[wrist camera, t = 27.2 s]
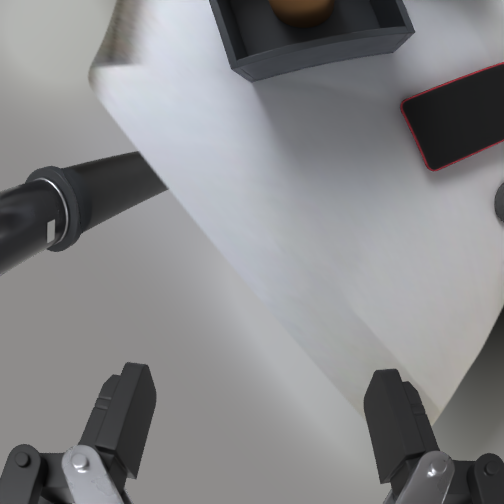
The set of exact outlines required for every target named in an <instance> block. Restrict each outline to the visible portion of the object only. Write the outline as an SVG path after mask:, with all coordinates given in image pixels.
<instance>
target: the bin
mask: <svg viewBox="0 0 504 504" xmlns="http://www.w3.org/2000/svg"><path fill="white" fill-rule="evenodd" d="M209 2H210V5H211V8H212V11H213V14H214V17H215V20H216V23H217V26H218V29H219V32H220V35H221V38H222V41H223V45H224V48H225V51H226V54H227V57H228V60H229V64H230V67H231V69H232V70H233V71H235V72H236V73H238V74H239V75H241V76H242V77H244V78H245V79H247V80H248V81H250V82H255V81H259V80H262V79H266V78H269V77H273V76H277V75H280V74H284V73H288V72H292V71H296V70H300V69H305V68H309V67H313V66H318V65H323V64H328V63H333V62H338V61H343V60H349V59H354V58H361V57H367V56H374V55H381V54H388V53H393V52H395V51H396V50H397V49H398V48H399V47H400V46H401V45H402V44H403V43H404V42H405V41H406V40H407V39H408V38H410V37H411V36H412V35H413V34H414V33H415V31H414V28H413V26H412V23H411V20H410V18H409V15H408V13H407V10H406V8H405V6H404V3H403V1H402V0H335V1H334V8H333V12H332V14H331V15H330V17H329V18H328V19H327V20H326V21H325V22H323V23H321V24H320V25H317V26H314V27H309V28H298V27H293V26H290V25H288V24H286V23H284V22H282V21H281V20H280V19H278V18H277V16H276V15H275V14H274V12H273V10H272V8H271V6H270V3H269V1H268V0H209Z"/></svg>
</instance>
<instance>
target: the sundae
mask: <svg viewBox="0 0 504 504" xmlns="http://www.w3.org/2000/svg"><path fill="white" fill-rule="evenodd" d="M495 209H496V213H497V215H498V217H499V218H500V220H501V221H503V222H504V183H503V184H502V185H501V186H500V188H499V189H498V191H497V194H496V197H495Z"/></svg>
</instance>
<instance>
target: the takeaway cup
mask: <svg viewBox="0 0 504 504" xmlns="http://www.w3.org/2000/svg"><path fill="white" fill-rule="evenodd" d="M268 1H269V3H270V6H271V8H272V10H273V12H274V14H275V15H276V16H277V18H278V19H280V20H281V21H282V22H284V23H286V24H288V25H290V26H293V27H298V28H309V27H314V26H317V25H320V24H321V23H323V22H325V21H326V20H327V19H328V18H329V17H330V15H331V14H332V12H333V8H334V1H335V0H268Z"/></svg>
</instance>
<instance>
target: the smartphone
mask: <svg viewBox="0 0 504 504" xmlns="http://www.w3.org/2000/svg"><path fill="white" fill-rule="evenodd" d="M400 109H401V112H402V114H403V116H404V118H405V120H406V122H407V124H408V126H409V128H410V131H411V133H412V135H413V137H414V139H415V141H416V144H417V146H418V148H419V151H420V153H421V155H422V158H423V160H424V162H425V165H426V167H427V168H428V169H429V170H431V171H438V170H440V169H442V168H445V167H447V166H449V165H451V164H453V163H456V162H458V161H460V160H462V159H465V158H467V157H469V156H471V155H474V154H476V153H478V152H480V151H482V150H485V149H487V148H489V147H491V146H494V145H496V144H498V143H500V142H503V141H504V62H502V63H499V64H496V65H493V66H490V67H487V68H485V69H482V70H479V71H476V72H474V73H471V74H468V75H465V76H463V77H460V78H457V79H455V80H452V81H450V82H447V83H444V84H442V85H439V86H437V87H434V88H432V89H429V90H427V91H424V92H422V93H420V94H417V95H415V96H412V97H410V98H408V99H405V100H403V101H402V103H401V105H400Z"/></svg>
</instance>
